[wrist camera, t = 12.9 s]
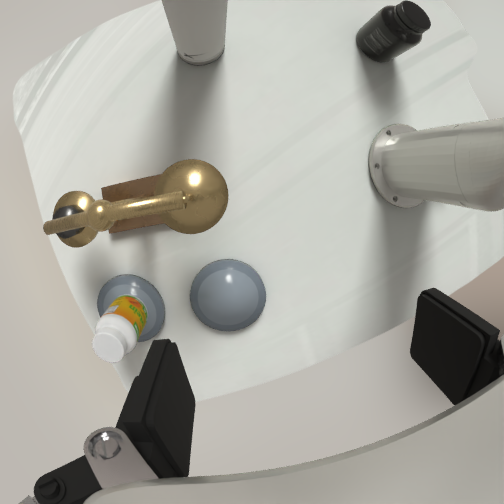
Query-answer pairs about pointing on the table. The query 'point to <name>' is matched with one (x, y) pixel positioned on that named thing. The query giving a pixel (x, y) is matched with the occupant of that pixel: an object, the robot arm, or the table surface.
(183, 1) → the travel mug
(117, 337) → the supplement bottle
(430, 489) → the robot arm
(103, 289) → the dish low side
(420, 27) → the supplement bottle
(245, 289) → the dish high side
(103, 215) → the balance
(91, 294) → the table surface
